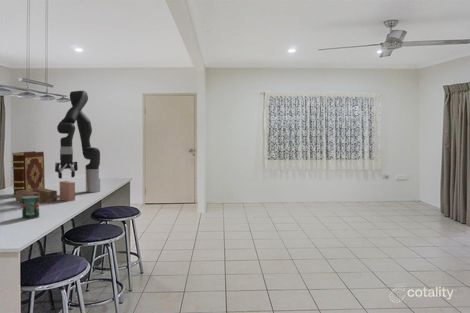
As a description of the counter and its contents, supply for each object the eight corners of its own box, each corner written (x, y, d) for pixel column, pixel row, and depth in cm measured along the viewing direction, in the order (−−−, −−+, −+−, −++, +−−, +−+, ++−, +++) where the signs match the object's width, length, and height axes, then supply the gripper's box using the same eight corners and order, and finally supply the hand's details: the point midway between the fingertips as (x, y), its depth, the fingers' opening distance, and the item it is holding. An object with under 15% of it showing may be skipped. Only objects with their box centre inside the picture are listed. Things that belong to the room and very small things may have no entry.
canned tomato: (19, 217, 188) (19, 196, 187) (35, 214, 194) (35, 194, 194) (26, 219, 183) (25, 198, 182) (42, 217, 189) (41, 196, 189)
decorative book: (21, 197, 243) (20, 153, 240) (11, 196, 244) (9, 152, 242) (45, 191, 264) (44, 151, 262) (35, 191, 266) (34, 151, 264)
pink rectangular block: (65, 198, 241) (65, 180, 240) (75, 200, 235) (74, 182, 234) (59, 199, 238) (59, 181, 237) (69, 201, 232) (69, 183, 231)
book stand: (40, 197, 244) (40, 187, 243) (57, 200, 232) (56, 190, 232) (15, 200, 230) (15, 190, 230) (31, 204, 219) (31, 194, 219)
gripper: (73, 152, 242) (73, 176, 243) (52, 153, 230) (52, 178, 231) (79, 153, 238) (79, 177, 239) (59, 154, 226) (59, 179, 227)
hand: (66, 177), depth 235 cm, fingers open, 8 cm apart
